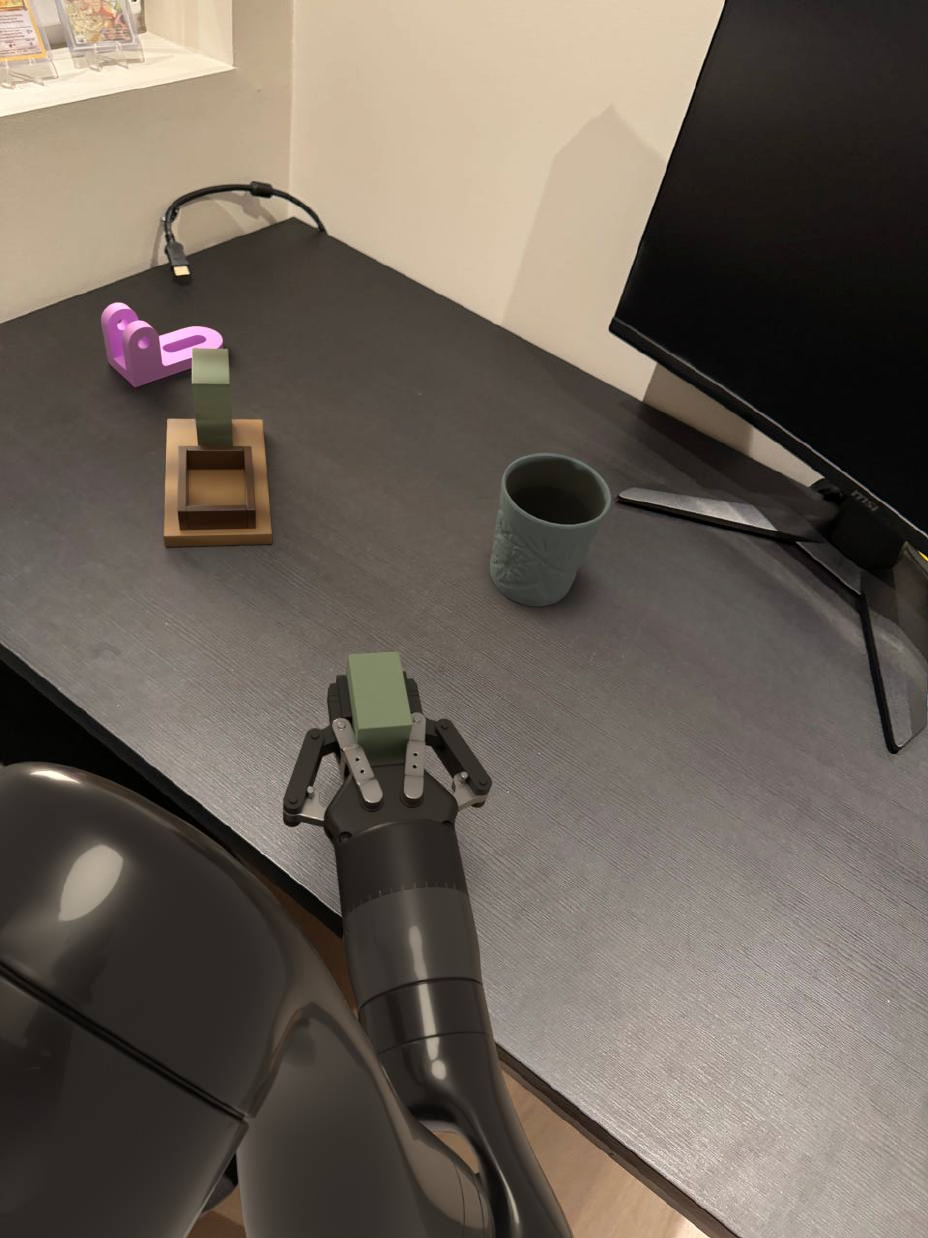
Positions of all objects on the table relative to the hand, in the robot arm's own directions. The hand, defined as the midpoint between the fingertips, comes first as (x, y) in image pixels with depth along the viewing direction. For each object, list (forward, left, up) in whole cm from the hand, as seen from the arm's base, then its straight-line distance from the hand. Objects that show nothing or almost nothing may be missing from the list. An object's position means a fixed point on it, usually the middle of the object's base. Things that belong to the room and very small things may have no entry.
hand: (369, 680), depth 59 cm
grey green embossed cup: (+28, +3, -12) cm, 31 cm away
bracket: (+25, +54, -12) cm, 61 cm away
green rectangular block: (-2, -2, -6) cm, 7 cm away
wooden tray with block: (+14, +33, -12) cm, 38 cm away
